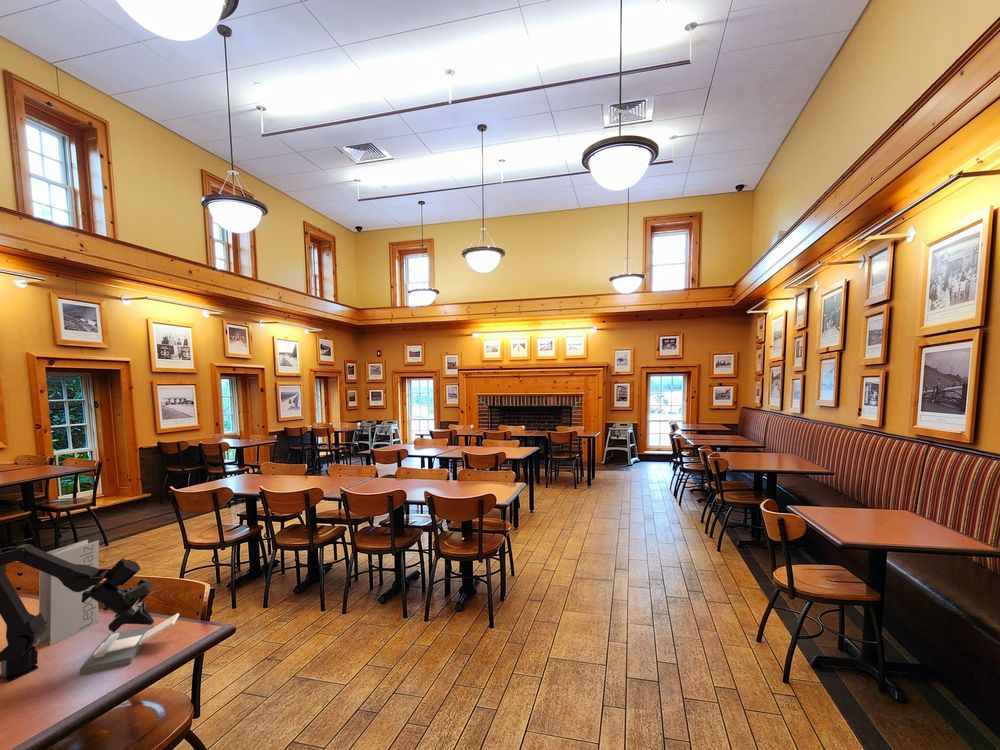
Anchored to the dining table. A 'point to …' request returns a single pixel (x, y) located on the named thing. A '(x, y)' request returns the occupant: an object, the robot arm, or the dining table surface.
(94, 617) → the brochure
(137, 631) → the board
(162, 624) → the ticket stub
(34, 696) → the dining table surface
